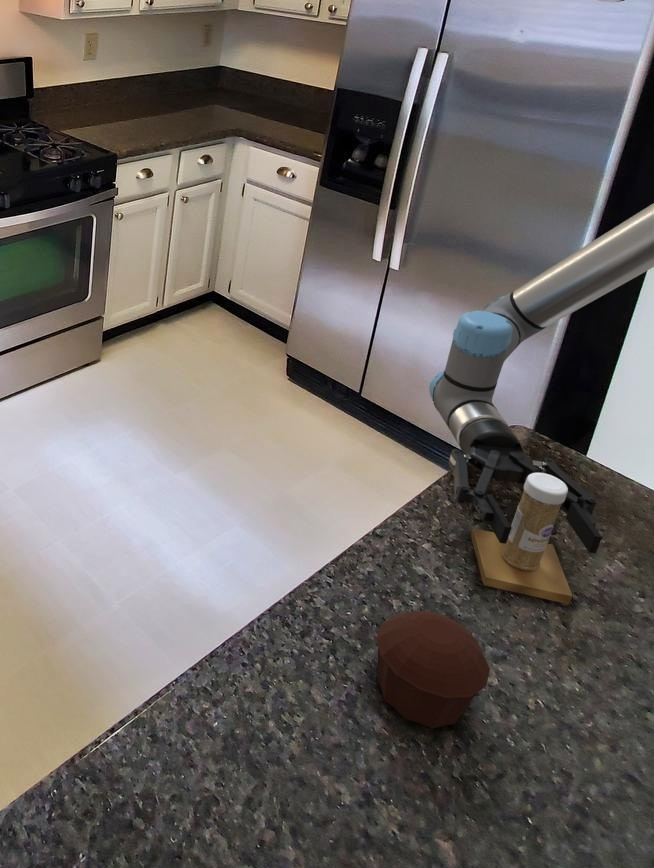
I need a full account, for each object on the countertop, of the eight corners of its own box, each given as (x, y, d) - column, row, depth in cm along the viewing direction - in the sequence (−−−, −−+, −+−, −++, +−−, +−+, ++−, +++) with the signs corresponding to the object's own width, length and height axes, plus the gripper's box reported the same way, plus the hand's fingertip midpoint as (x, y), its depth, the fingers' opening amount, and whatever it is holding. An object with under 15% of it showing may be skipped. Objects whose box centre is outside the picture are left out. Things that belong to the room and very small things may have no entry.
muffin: (429, 756, 86) (451, 692, 81) (344, 678, 95) (360, 617, 90) (496, 708, 91) (520, 646, 87) (409, 638, 100) (427, 579, 95)
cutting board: (550, 552, 113) (553, 544, 112) (569, 604, 104) (572, 596, 104) (470, 535, 116) (473, 528, 115) (483, 585, 107) (485, 577, 107)
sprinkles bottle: (528, 577, 107) (557, 498, 101) (493, 556, 110) (520, 478, 104) (546, 563, 109) (576, 485, 103) (511, 543, 112) (538, 466, 107)
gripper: (558, 465, 122) (637, 572, 102) (401, 451, 126) (449, 552, 106) (572, 424, 119) (658, 527, 99) (412, 411, 122) (463, 507, 103)
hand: (550, 540), depth 102 cm, fingers open, 10 cm apart
